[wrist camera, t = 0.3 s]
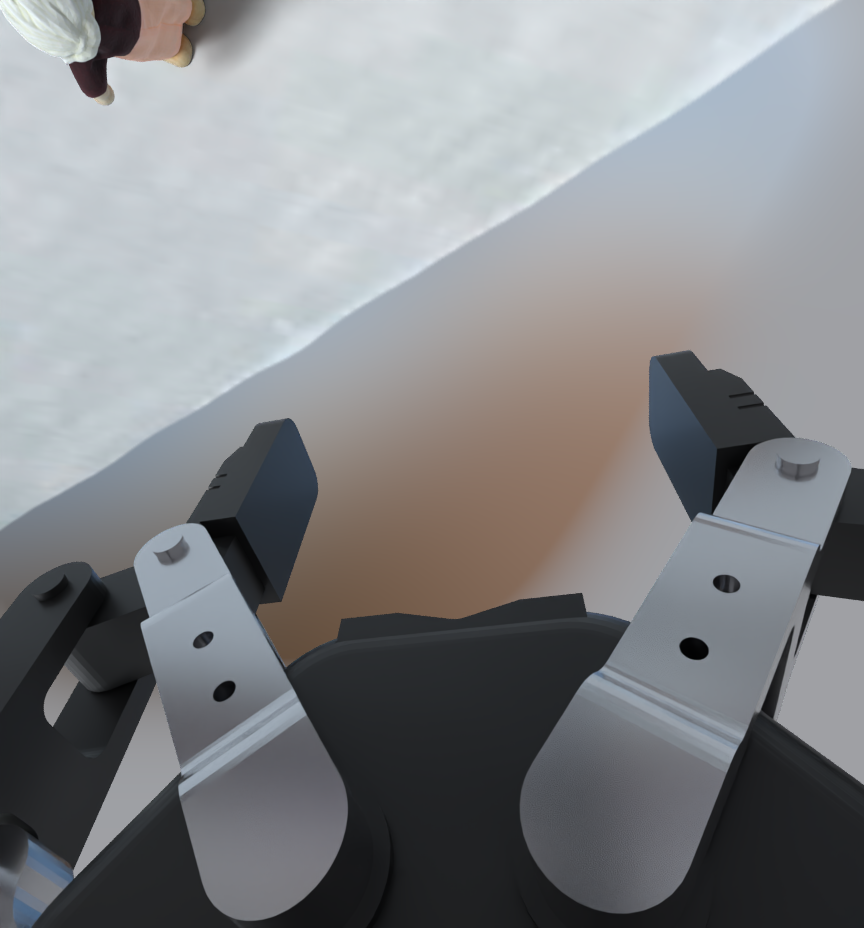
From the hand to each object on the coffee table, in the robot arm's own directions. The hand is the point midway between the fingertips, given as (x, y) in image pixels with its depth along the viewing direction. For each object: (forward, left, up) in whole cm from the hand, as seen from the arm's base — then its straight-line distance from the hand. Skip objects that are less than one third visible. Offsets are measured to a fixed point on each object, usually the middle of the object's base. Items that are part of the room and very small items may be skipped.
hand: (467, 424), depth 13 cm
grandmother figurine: (-12, -14, -28) cm, 34 cm away
